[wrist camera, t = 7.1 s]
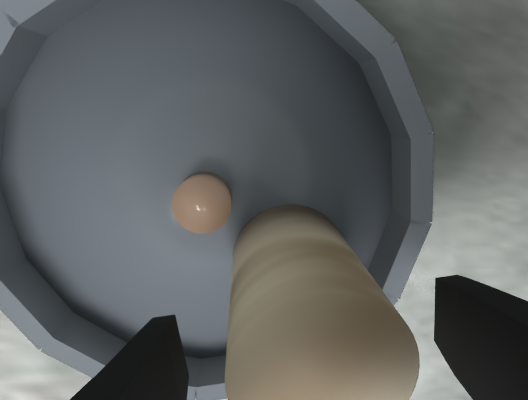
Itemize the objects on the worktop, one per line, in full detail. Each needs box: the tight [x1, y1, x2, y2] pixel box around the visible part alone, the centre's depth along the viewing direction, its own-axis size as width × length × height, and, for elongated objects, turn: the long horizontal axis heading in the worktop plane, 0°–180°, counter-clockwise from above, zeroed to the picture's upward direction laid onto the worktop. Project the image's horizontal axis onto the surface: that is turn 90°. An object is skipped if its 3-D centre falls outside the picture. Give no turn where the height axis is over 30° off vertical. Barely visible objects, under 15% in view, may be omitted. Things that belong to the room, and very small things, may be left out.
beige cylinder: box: [225, 205, 420, 400], centre depth 10 cm, size 4×4×6 cm
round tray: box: [0, 0, 434, 400], centre depth 12 cm, size 16×16×2 cm
